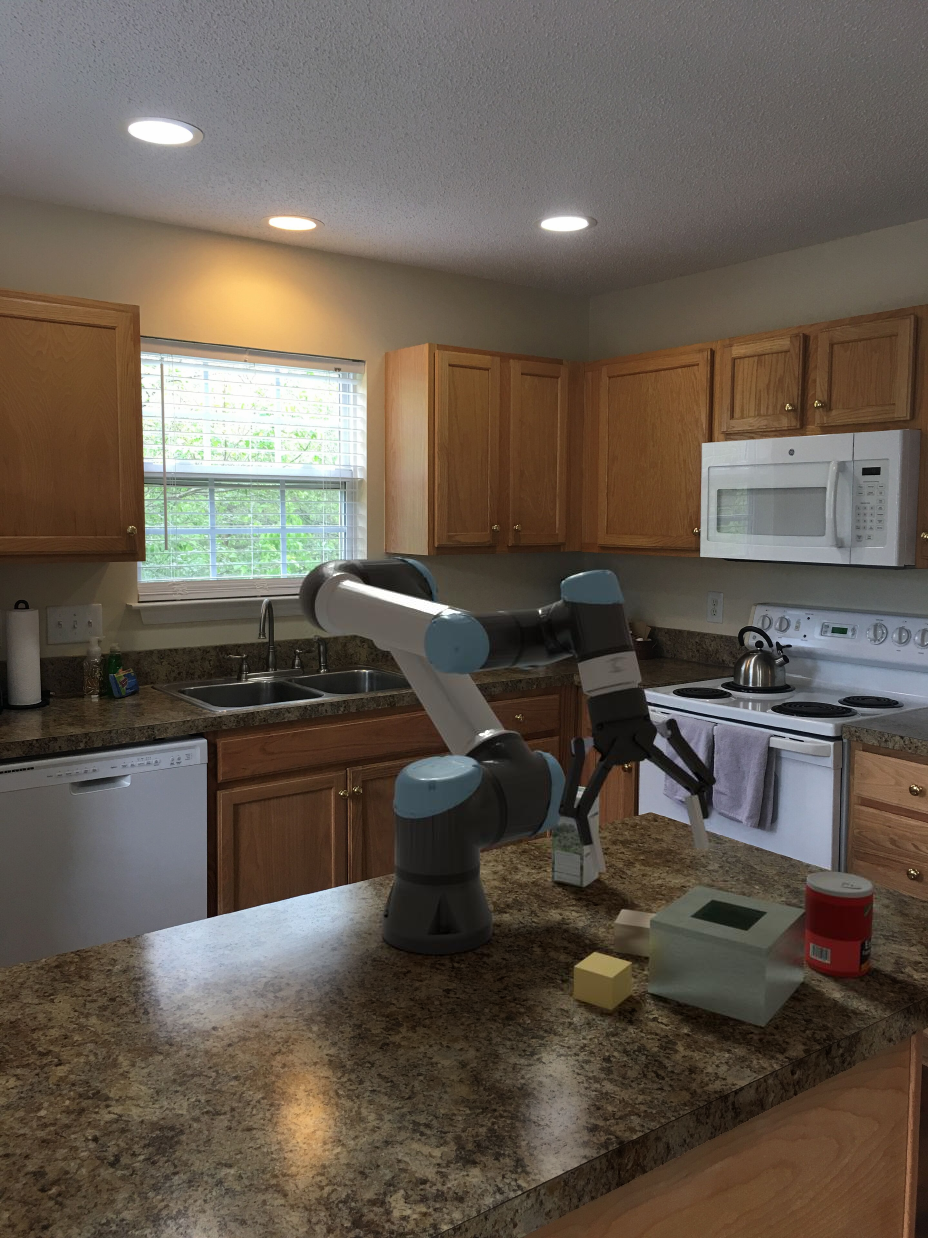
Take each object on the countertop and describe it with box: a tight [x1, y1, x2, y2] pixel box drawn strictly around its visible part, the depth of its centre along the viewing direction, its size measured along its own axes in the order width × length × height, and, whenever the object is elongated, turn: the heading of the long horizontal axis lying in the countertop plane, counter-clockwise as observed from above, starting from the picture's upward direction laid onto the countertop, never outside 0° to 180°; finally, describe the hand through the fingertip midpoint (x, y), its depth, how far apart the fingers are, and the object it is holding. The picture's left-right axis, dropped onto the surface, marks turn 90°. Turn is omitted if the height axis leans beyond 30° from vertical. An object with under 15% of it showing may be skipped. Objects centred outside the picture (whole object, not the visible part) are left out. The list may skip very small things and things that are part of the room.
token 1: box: [573, 951, 633, 1011], centre depth 118 cm, size 5×5×4 cm
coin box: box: [647, 885, 806, 1028], centre depth 121 cm, size 14×14×9 cm
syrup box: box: [551, 786, 600, 888], centre depth 157 cm, size 6×6×14 cm
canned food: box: [804, 871, 875, 979], centre depth 127 cm, size 8×8×11 cm
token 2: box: [613, 908, 658, 958], centre depth 132 cm, size 5×5×4 cm
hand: (652, 859), depth 124 cm, fingers open, 13 cm apart
